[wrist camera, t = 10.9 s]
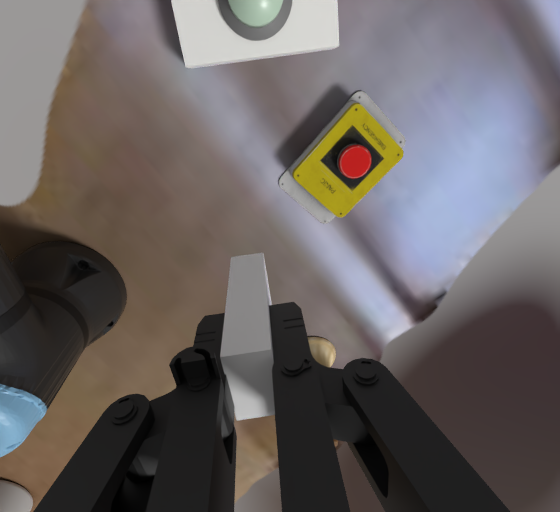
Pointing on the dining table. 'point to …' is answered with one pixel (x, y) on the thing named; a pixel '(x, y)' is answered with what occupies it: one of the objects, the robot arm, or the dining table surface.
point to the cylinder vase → (14, 498)
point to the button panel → (253, 31)
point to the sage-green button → (255, 11)
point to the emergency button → (344, 160)
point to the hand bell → (322, 354)
